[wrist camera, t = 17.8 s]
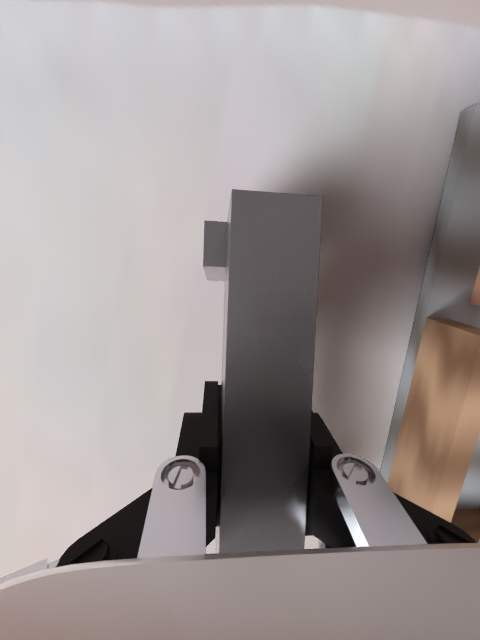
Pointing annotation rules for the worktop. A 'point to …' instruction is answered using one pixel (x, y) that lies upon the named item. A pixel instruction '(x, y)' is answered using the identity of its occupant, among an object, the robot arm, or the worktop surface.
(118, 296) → the worktop surface
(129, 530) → the robot arm
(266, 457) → the grey long bar
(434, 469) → the cubby
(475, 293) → the cube
